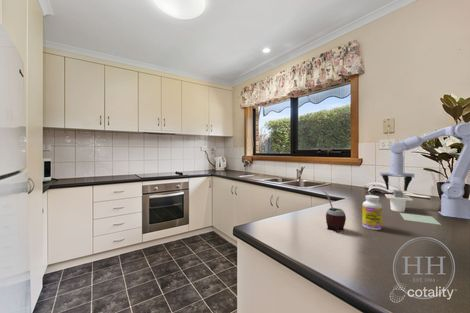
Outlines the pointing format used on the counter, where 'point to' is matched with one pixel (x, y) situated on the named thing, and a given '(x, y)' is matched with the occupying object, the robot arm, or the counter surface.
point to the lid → (398, 196)
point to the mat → (419, 218)
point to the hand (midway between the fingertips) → (396, 190)
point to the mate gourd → (335, 218)
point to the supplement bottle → (372, 213)
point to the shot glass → (397, 205)
